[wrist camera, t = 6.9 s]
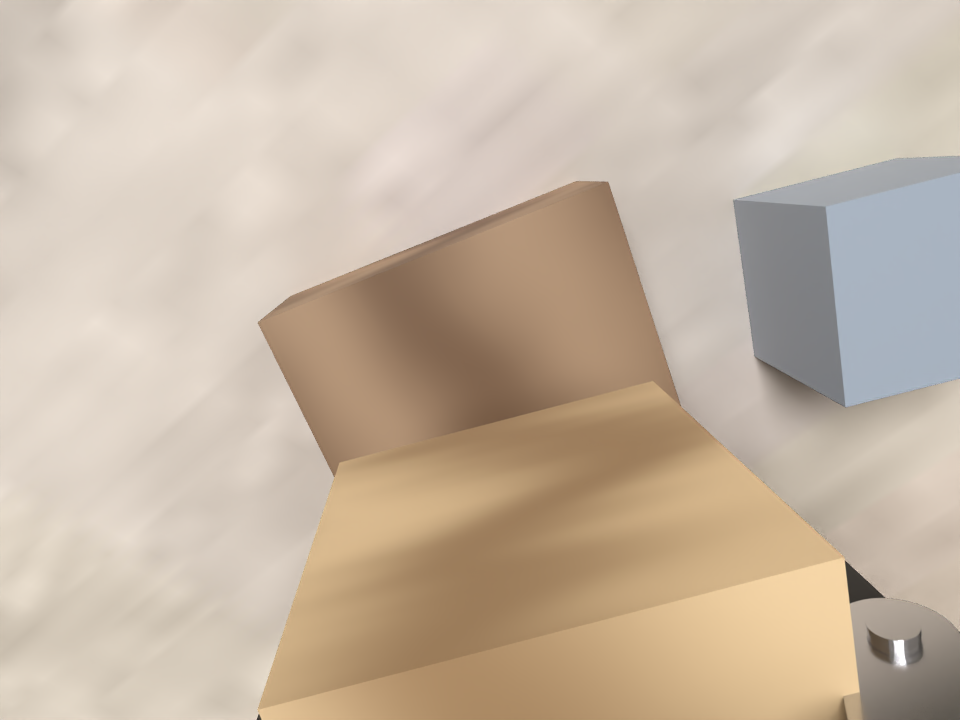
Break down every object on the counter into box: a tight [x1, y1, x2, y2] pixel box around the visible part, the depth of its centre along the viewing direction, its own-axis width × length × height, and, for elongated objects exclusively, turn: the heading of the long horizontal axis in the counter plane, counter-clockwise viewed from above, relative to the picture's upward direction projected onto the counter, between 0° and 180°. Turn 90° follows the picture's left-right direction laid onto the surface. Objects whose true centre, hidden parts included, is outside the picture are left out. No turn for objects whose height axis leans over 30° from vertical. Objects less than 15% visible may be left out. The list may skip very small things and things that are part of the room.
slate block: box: [733, 156, 960, 407], centre depth 20 cm, size 6×6×6 cm
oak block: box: [258, 381, 860, 720], centre depth 9 cm, size 6×6×6 cm
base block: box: [258, 181, 681, 477], centre depth 21 cm, size 10×10×4 cm
